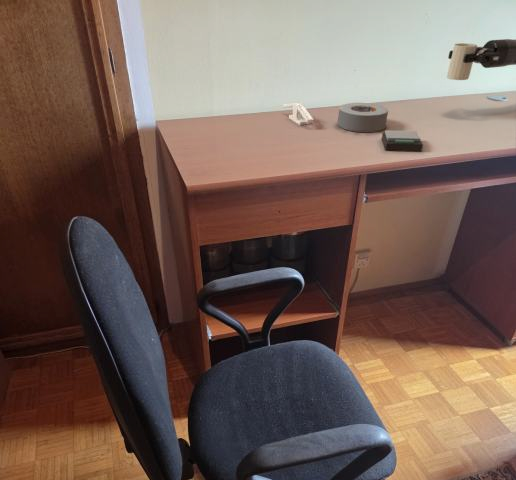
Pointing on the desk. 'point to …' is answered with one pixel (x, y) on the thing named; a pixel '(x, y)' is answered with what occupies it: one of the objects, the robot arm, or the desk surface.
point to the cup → (460, 61)
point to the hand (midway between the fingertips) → (457, 56)
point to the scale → (401, 141)
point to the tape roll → (362, 117)
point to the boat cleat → (299, 114)
